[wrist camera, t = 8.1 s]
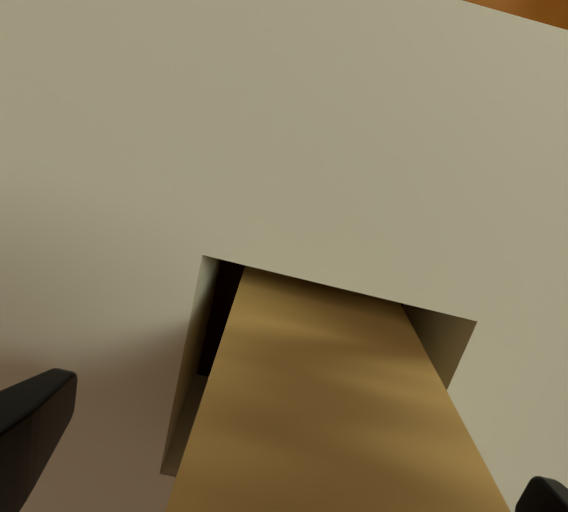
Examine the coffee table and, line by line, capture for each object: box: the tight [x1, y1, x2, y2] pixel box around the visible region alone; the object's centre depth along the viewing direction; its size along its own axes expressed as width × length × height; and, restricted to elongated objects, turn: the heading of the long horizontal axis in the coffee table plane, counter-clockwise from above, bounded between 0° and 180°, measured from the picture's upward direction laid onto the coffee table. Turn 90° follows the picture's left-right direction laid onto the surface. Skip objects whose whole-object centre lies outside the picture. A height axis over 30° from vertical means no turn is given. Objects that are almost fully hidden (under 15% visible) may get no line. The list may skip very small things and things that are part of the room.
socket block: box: [0, 0, 568, 512], centre depth 11 cm, size 16×16×4 cm
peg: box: [165, 265, 511, 512], centre depth 9 cm, size 4×4×9 cm
